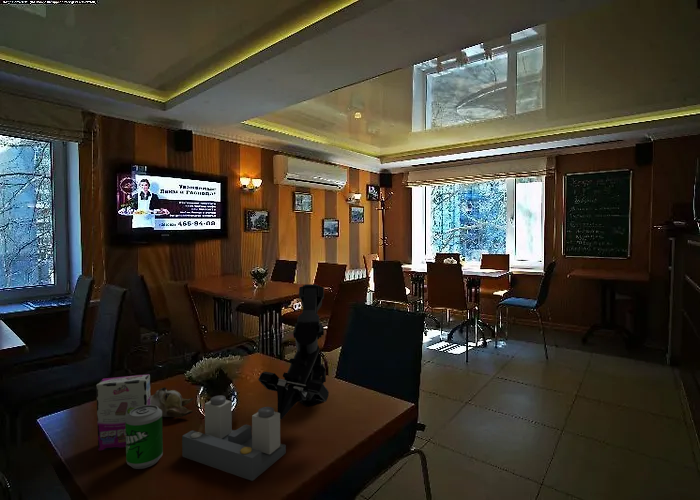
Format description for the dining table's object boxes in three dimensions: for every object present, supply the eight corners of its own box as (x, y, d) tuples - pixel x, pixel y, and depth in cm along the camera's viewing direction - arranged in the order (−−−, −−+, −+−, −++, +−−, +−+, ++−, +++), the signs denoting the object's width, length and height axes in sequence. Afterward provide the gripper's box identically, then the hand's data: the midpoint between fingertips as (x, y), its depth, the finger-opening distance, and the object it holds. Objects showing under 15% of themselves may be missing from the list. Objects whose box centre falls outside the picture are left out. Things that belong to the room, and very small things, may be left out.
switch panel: (219, 433, 104) (219, 413, 103) (285, 453, 94) (285, 431, 94) (182, 456, 93) (182, 434, 93) (252, 481, 84) (252, 456, 83)
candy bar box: (152, 435, 103) (151, 373, 102) (147, 445, 98) (146, 380, 97) (103, 441, 100) (102, 377, 99) (97, 451, 95) (95, 384, 94)
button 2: (263, 441, 95) (263, 404, 95) (280, 446, 93) (279, 408, 93) (252, 449, 92) (251, 411, 91) (269, 454, 90) (269, 415, 89)
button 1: (217, 428, 102) (216, 393, 102) (231, 432, 100) (231, 397, 99) (205, 435, 98) (204, 399, 98) (220, 439, 96) (219, 403, 96)
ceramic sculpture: (139, 382, 116) (194, 379, 121) (138, 411, 116) (193, 407, 122) (134, 397, 106) (193, 392, 112) (132, 428, 106) (192, 422, 112)
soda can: (154, 449, 96) (153, 400, 96) (168, 460, 91) (168, 409, 91) (120, 462, 90) (119, 411, 90) (134, 475, 86) (133, 421, 85)
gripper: (344, 380, 107) (323, 439, 98) (287, 370, 116) (263, 423, 106) (329, 360, 100) (306, 421, 91) (270, 351, 108) (243, 406, 99)
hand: (279, 418), depth 97 cm, fingers closed
